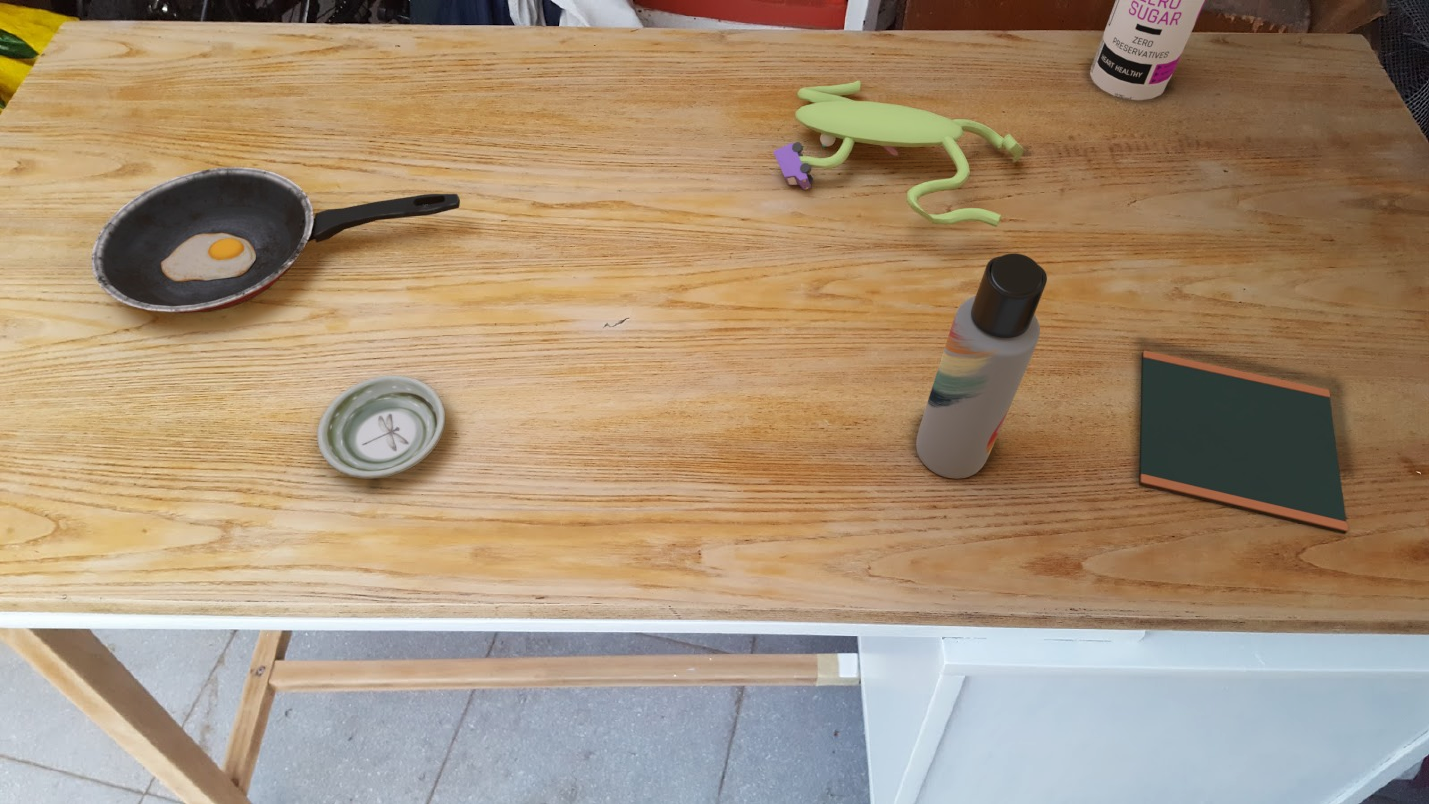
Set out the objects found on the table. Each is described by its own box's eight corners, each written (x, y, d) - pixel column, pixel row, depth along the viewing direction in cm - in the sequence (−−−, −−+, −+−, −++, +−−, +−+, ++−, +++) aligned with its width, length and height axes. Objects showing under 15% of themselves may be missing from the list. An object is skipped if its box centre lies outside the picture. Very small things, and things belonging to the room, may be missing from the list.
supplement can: (1148, 65, 108) (1204, -66, 96) (1172, 109, 103) (1233, -24, 91) (1078, 66, 108) (1125, -66, 96) (1098, 110, 103) (1150, -23, 91)
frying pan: (126, 205, 92) (107, 174, 89) (462, 165, 96) (454, 134, 93) (90, 350, 80) (67, 320, 77) (472, 297, 85) (463, 267, 82)
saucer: (302, 439, 75) (292, 421, 73) (406, 374, 79) (399, 355, 77) (369, 515, 71) (359, 498, 69) (475, 442, 75) (469, 424, 73)
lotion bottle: (990, 430, 76) (1066, 248, 61) (982, 488, 73) (1061, 310, 57) (919, 415, 77) (977, 231, 61) (909, 471, 74) (967, 291, 58)
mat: (1326, 393, 79) (1329, 389, 79) (1344, 533, 71) (1348, 530, 71) (1141, 353, 82) (1143, 349, 81) (1138, 485, 73) (1141, 481, 73)
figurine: (970, 277, 87) (985, 232, 83) (729, 169, 96) (731, 123, 92) (1047, 171, 96) (1064, 125, 92) (821, 82, 105) (827, 36, 101)
